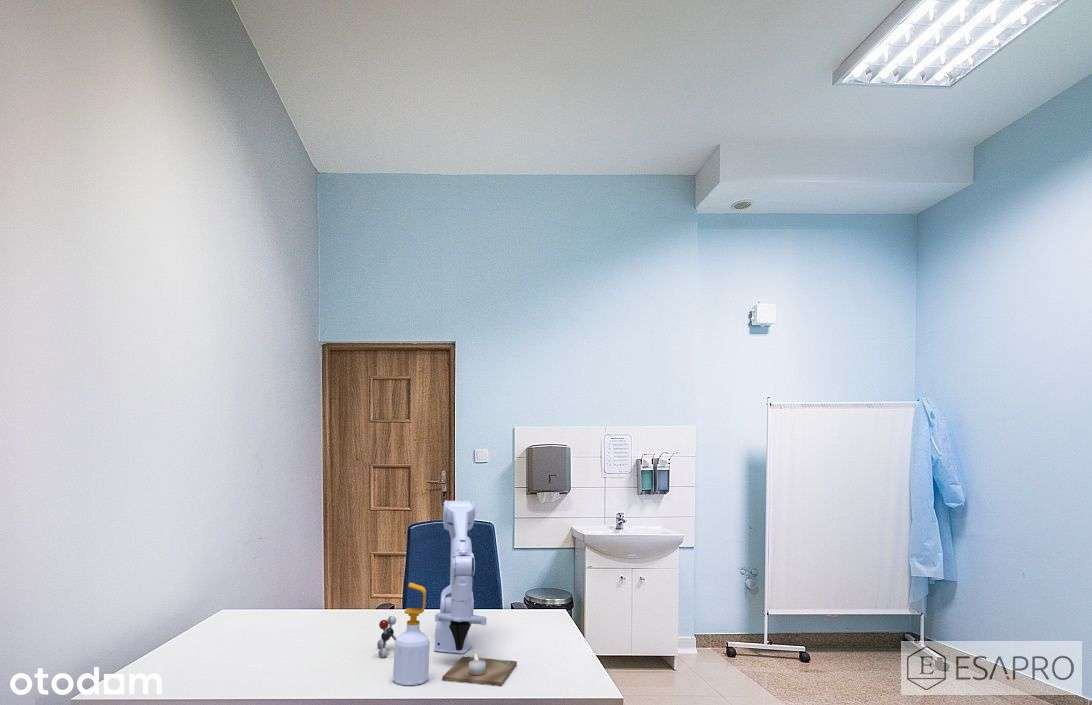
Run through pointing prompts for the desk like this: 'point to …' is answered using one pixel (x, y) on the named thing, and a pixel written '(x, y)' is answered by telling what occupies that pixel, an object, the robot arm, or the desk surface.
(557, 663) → the desk surface
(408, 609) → the soap bottle
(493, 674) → the dial board
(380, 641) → the molecular model
